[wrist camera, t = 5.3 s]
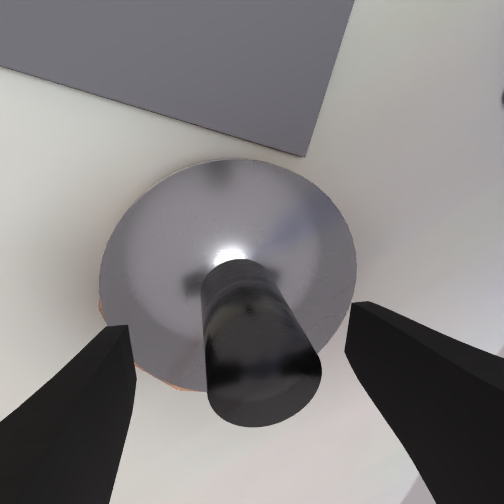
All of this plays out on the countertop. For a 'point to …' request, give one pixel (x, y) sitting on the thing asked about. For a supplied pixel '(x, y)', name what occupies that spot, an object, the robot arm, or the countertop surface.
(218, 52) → the mat
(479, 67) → the countertop surface
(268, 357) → the lid
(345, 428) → the countertop surface
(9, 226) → the countertop surface
